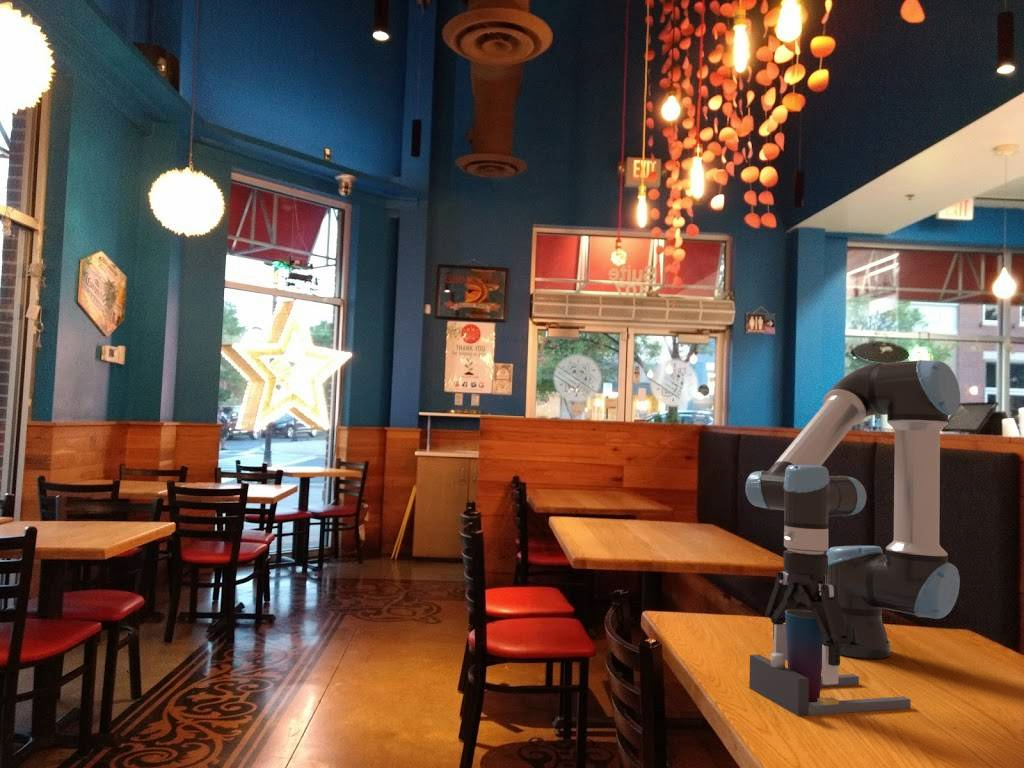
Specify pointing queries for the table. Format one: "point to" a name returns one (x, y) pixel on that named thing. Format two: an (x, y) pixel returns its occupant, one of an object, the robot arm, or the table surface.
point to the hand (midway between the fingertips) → (804, 671)
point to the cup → (805, 648)
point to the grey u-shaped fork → (794, 690)
